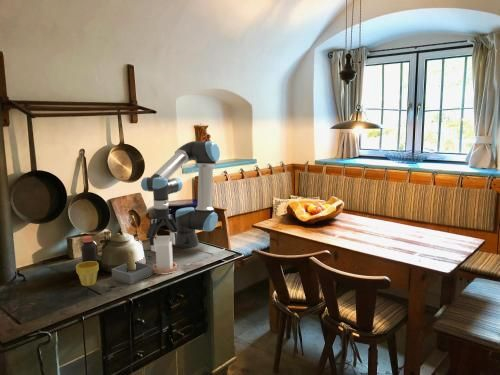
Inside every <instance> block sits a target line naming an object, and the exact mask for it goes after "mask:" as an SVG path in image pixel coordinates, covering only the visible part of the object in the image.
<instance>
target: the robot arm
mask: <svg viewBox="0 0 500 375" xmlns="http://www.w3.org/2000/svg"><path fill="white" fill-rule="evenodd" d="M220 154H221V151H220V147H219V146H218V144H217V143H216V142H215V141H209V140H207V141H206V140H205V141H200V140H199V141H196V140H193V141H188V142H187V143H185V144H183V145H181V146H180V147H179V148H178V149H176V150H175V151H174V154H173V155H172V156H171V157H169V158H170V159H168V160H167V161H166V162H165V163H164V164H162V165H161V167H160V168H159V169H158V170H157V171H155V172H154V173H153V174H152V175H151V176H150V177H149V176H146V177H143V178H142V180H141V182H140V187H141V189H142V190H143V191H145V192H151V193H152V192H153V193H152V194H153V196H152V197H153V215H154V218H151V219H150V220H149V222H150V223H149V227H148V230H147V232H146V237H145V238H146V239H149V245H150V251H152V252H156V236H157V233H158V231H159V230H160V228H161V227H163V226H166V228H167V229H169V231H170V232H169V236H170V239H171V241H172V245H174V246H175V247H176V248H180V249H189V248H194V247H197V246H198V245H199V239H198V236H197V233H196V231H203V232H212V231H213V230H215V228H216V227H217V225H218V220H219V216H218V214H217V213H216V212H215V208H214V207H213V180H214V179H213V178H214V177H213V176H214V166H215V165H216V164H217V163H216V162H218V161H219V160H220V157H221V156H220ZM190 161H195V163H196V165H197V166H198V175H197V176H198V183H197V185H198V186H197V206H196V207H192V206H190V207H189V206H188V207H182V208H179V209H176V211H175V217H174V215H173V214H170V208H169V206H170V204H169V195H171V194H174V193H175V194H176V193H178V192H180V191H181V190H182V188H183V182H182V180H181V179H180V178H177V177H173V178H171V177H172V175H174V174H175V173H176V172H177V171H178V170H179V169H180V168H181V167H182V166H183V165H185V164H187V163H188V162H190ZM174 218H175V219H174Z"/></svg>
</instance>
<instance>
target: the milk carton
mask: <svg viewBox="0 0 500 375" xmlns="http://www.w3.org/2000/svg"><path fill="white" fill-rule="evenodd" d="M155 241H156V251H155V264H156V265H157V269H158V270H166V269H171V268H173V262H174V261H173V260H174V259H173V258H174V257H173V244H172V241H171V239H170V235H155Z"/></svg>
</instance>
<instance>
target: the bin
mask: <svg viewBox="0 0 500 375" xmlns="http://www.w3.org/2000/svg"><path fill="white" fill-rule="evenodd" d="M135 261H136V260H135ZM135 264H136V270H133V271H128V272H127V270H126V268H127V264H126V263H123V264H121V265H119V266H116V267H114V268H111V277H112V278H113V280H115V279H116V281H118V280H119V282H121V281H122V282H121V283H125V282H126V283H125V284H128V283H130V284H129V285H132V284H131V283H133V282H136V281H138V280H140V279H142V278H145V277H147V276H149V275H151V276H153V266H152V265H150V264H146V263H143V262H139V261H136V262H135ZM149 277H150V276H149ZM112 278H111V279H112ZM147 278H148V277H147ZM145 279H146V278H145ZM142 280H143V279H142ZM140 281H141V280H140ZM138 282H139V281H138ZM136 283H137V282H136ZM133 284H134V283H133Z"/></svg>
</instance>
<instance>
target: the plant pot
mask: <svg viewBox="0 0 500 375" xmlns="http://www.w3.org/2000/svg"><path fill="white" fill-rule="evenodd" d="M99 270H100V267H99V262H95V261H87V262H79V263H77V264H76V265H75V271H76V274H77V275H78V278H79V281H80V285H82V286H84V287H90V286H94V285H95V284H96V283H97V279H98V278H97V277H98V272H97V271H99Z"/></svg>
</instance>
